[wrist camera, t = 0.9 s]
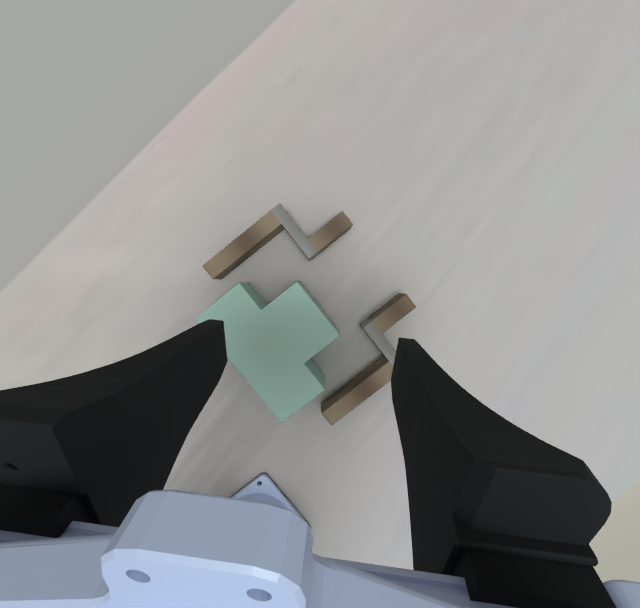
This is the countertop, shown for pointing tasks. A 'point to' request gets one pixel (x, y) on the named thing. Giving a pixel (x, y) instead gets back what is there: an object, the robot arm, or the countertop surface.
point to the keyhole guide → (311, 247)
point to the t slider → (275, 343)
